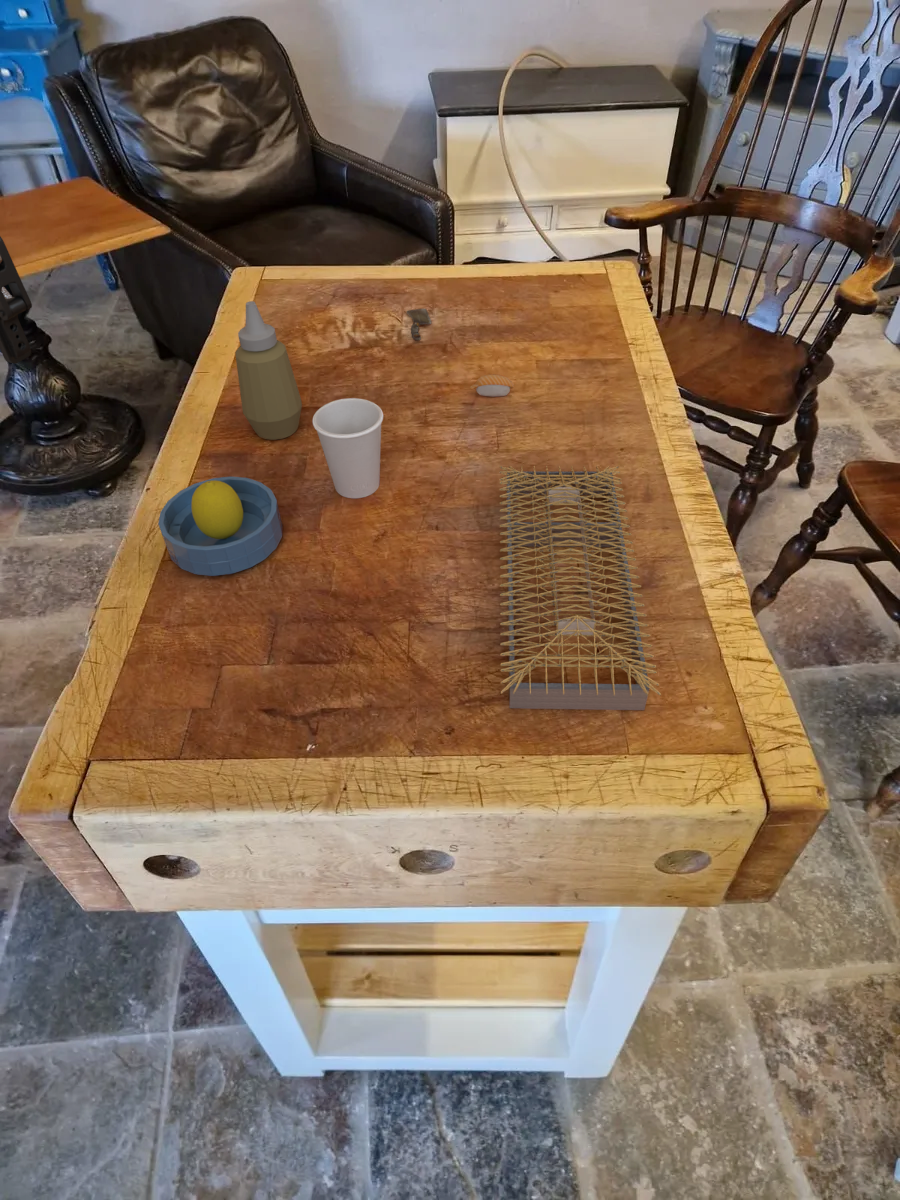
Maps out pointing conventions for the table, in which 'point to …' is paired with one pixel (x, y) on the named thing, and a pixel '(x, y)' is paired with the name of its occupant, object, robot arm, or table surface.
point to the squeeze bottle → (266, 379)
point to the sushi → (493, 385)
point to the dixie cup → (351, 444)
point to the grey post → (418, 321)
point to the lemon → (217, 509)
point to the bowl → (230, 553)
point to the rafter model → (572, 534)
